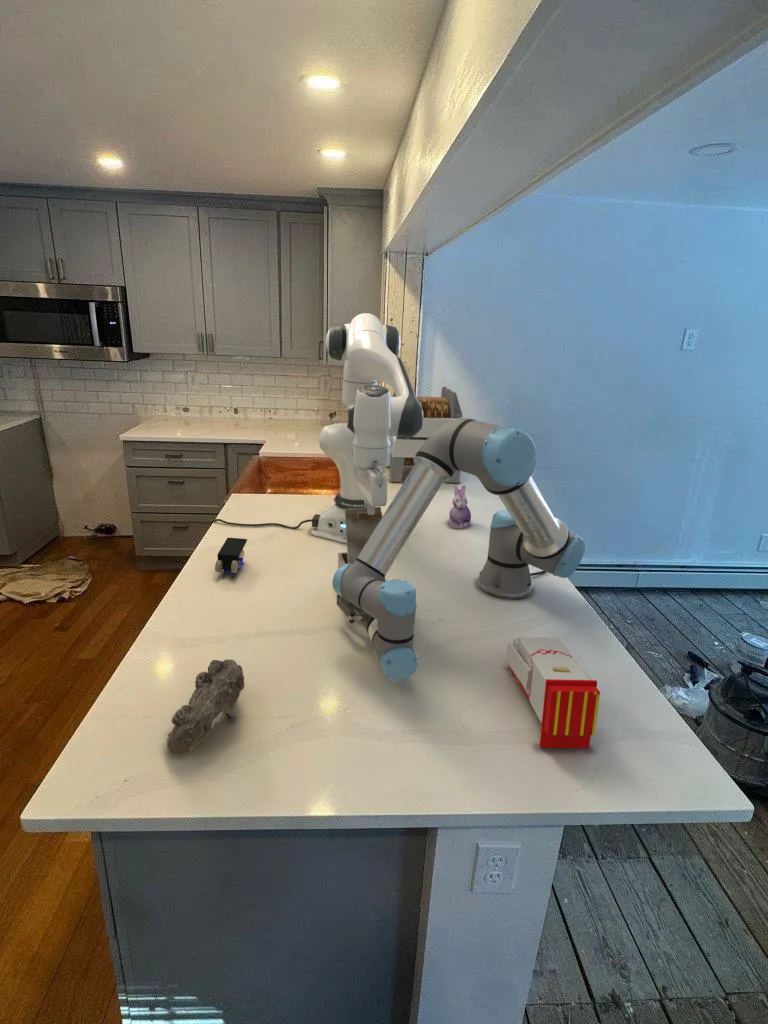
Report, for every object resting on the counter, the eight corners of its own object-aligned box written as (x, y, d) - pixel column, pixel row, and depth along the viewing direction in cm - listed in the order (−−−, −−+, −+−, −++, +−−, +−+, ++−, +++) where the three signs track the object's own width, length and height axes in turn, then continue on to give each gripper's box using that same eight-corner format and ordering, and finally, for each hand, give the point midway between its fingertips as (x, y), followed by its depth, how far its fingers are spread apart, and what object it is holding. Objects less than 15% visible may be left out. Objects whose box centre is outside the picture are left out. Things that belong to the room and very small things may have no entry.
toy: (554, 620, 129) (609, 687, 99) (549, 674, 131) (601, 755, 102) (501, 619, 128) (541, 686, 99) (497, 673, 131) (534, 754, 102)
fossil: (192, 660, 117) (244, 628, 112) (224, 691, 120) (276, 661, 115) (142, 746, 98) (202, 712, 93) (182, 779, 101) (242, 748, 96)
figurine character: (238, 584, 162) (249, 557, 175) (236, 562, 158) (247, 536, 172) (215, 584, 161) (227, 556, 175) (212, 561, 158) (225, 535, 171)
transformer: (382, 463, 289) (386, 382, 275) (445, 464, 293) (451, 384, 279) (390, 482, 257) (394, 392, 243) (460, 483, 261) (468, 394, 247)
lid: (344, 508, 145) (350, 504, 136) (380, 507, 147) (388, 502, 138) (348, 578, 143) (355, 578, 134) (384, 576, 145) (393, 575, 136)
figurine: (456, 530, 205) (460, 491, 199) (441, 521, 213) (444, 483, 208) (477, 527, 209) (481, 488, 204) (461, 518, 217) (465, 480, 212)
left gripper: (395, 467, 124) (392, 526, 128) (375, 447, 143) (373, 499, 147) (367, 468, 123) (365, 528, 127) (350, 447, 141) (349, 500, 146)
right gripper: (335, 647, 126) (321, 599, 147) (429, 638, 131) (403, 593, 152) (335, 617, 124) (321, 573, 144) (431, 609, 129) (405, 567, 149)
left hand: (369, 512), depth 137 cm, fingers closed, pressing on lid
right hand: (363, 583), depth 148 cm, fingers closed on chest, 9 cm apart
